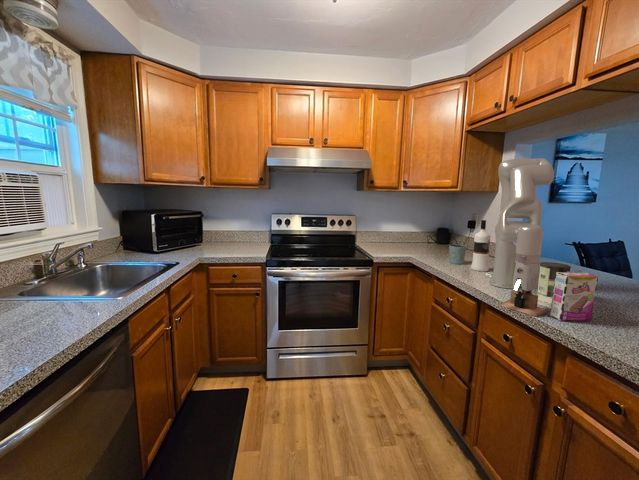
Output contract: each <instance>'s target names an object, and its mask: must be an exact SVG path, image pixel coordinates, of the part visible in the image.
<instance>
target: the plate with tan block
mask: <svg viewBox="0 0 639 480" xmlns="http://www.w3.org/2000/svg"><path fill="white" fill-rule="evenodd" d="M513 290H514V289H512V290H511V291H510V299H508V300H504V301H502V302H500V305H501V307H502V308H506V309H510V310H512V311H516V312H520V313H523V314H526V315H529V316H533V317H536V318H537V317H539V316H541V315H544V314H545V313H546V312H547V308H544V307H540V306H538V304H537V303H538V295H537V294H536V295H534V294H535V293H532V294H530V293H526V292H525V296H524V298H525V306H524V308H523V309H522V308H518V307H515V306H514V302H515V292H514V291H513ZM520 292H521V293H522V291H520Z"/></svg>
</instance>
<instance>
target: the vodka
mask: <svg viewBox="0 0 639 480" xmlns="http://www.w3.org/2000/svg"><path fill="white" fill-rule="evenodd" d="M486 226H487V219H482V220H481V221H480V231H478V232H477V233H475V234H474V236H473V237H474V239H473V241H474V242H473V252H472V261H471V265H470V268H471V270H472V271H474V272H482V273H485V272H486V273H487V272H489V269H490V267H489V256H490V254H489V253H490V245H491V244H490V243H491V238H492V237H491V234H489V233H488V232H487V231H486Z"/></svg>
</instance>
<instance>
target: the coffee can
mask: <svg viewBox="0 0 639 480" xmlns="http://www.w3.org/2000/svg"><path fill="white" fill-rule="evenodd" d="M571 268H572V266H571V265H569V264H564V263H561V262H560V263H559V262H552V261H551V262H547V261H544V262H542V261H540V264H539V282H538V287H537V288H536V289H537V290H536V295H540V296H544V297H548V298H552V297H553V290H554V283H555V276H556V272H571Z"/></svg>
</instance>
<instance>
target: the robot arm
mask: <svg viewBox="0 0 639 480" xmlns="http://www.w3.org/2000/svg"><path fill="white" fill-rule="evenodd" d="M497 170H498V171H497V172H498V173H497V174H498V180H499V183H500V186H501V195H500V196H501V198H500V213H499V216H498V222H497V223H496V225H495V227H494V228H495V229H494V233H495V249H494V250H495V251H494V262H493V272H492V273H488V272H486V273H485V278H488V279H489V281H488V284H490V285H491V286H493V287H497V288H501V289H502V288H503V289H512V290H513V291H514V292H515V302H514V306H515V307H518V308H522V309H523V308H524V306H525V298H524V296H525V292H526V293H530V294H533V290H535V289H538V282H539V271H540V263H541V255H542V248H543V247H542V245H543V237H544V229H543V227H541V226H542V225H541V224H542V216H543V215H542V214H543V204H542V202H541V200H540V199H538V198H537V187H538V186H549V185H551V184H552V183H553V181H554V178H555V170H554V167H553V166H552V164H551V163H550V162H549V161H548V160H547V159H546V158H543V157H541V158H540V157H539V158H538V157H537V158H514V159H511V158H510V159H507V160H503V161H502V162H500V164H499V166H498V169H497ZM508 219H527V221H526V220H525V221H524V220H523V221H522V220H508ZM515 243H516V245H515ZM520 291H522V293H521V292H520Z"/></svg>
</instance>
